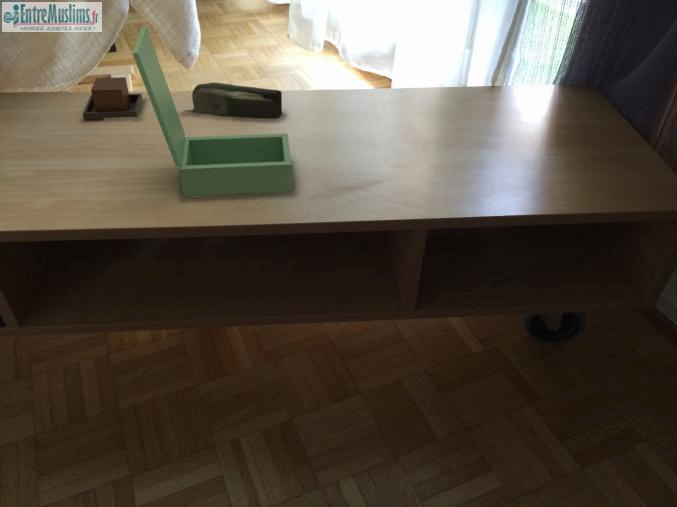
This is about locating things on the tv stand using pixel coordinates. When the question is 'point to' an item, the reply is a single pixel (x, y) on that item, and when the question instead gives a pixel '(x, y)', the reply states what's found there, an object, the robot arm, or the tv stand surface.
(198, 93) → the dark green elongated piece
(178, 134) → the lid
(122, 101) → the block
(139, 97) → the tray
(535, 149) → the tv stand surface
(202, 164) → the box
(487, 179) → the tv stand surface
